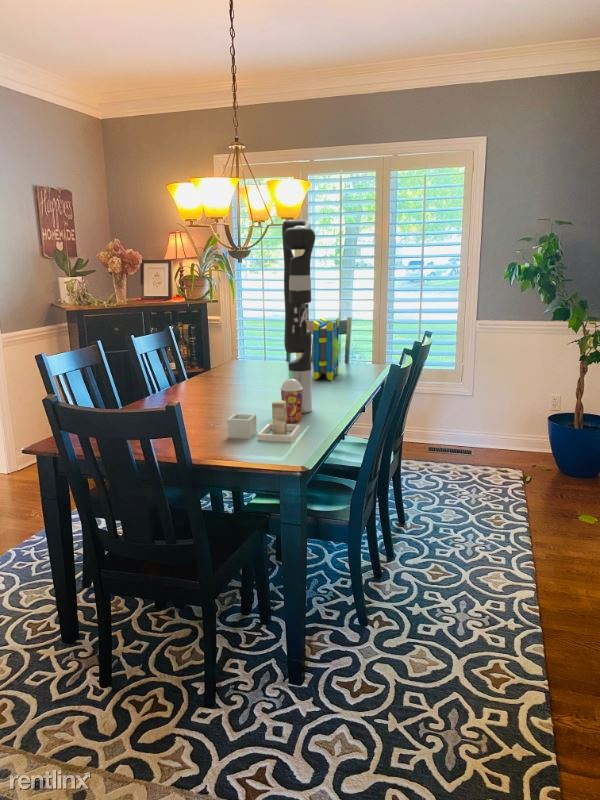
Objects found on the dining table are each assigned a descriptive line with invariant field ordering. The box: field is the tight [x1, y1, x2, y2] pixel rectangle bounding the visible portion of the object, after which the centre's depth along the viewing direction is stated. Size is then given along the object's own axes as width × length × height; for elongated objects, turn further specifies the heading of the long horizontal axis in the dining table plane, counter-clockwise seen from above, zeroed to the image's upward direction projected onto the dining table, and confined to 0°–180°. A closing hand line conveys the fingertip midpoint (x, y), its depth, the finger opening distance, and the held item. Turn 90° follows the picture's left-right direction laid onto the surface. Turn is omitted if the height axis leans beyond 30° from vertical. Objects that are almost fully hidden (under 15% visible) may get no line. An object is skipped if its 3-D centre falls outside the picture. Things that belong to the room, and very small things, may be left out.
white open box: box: [226, 413, 258, 440], centre depth 206 cm, size 8×8×8 cm
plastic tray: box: [256, 423, 302, 443], centre depth 206 cm, size 14×12×3 cm
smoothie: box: [280, 371, 303, 424], centre depth 222 cm, size 8×8×20 cm
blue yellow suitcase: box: [312, 317, 341, 382], centre depth 306 cm, size 14×23×30 cm, turn 166°
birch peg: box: [271, 400, 288, 435], centre depth 205 cm, size 4×4×12 cm
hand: (300, 335), depth 205 cm, fingers open, 8 cm apart
